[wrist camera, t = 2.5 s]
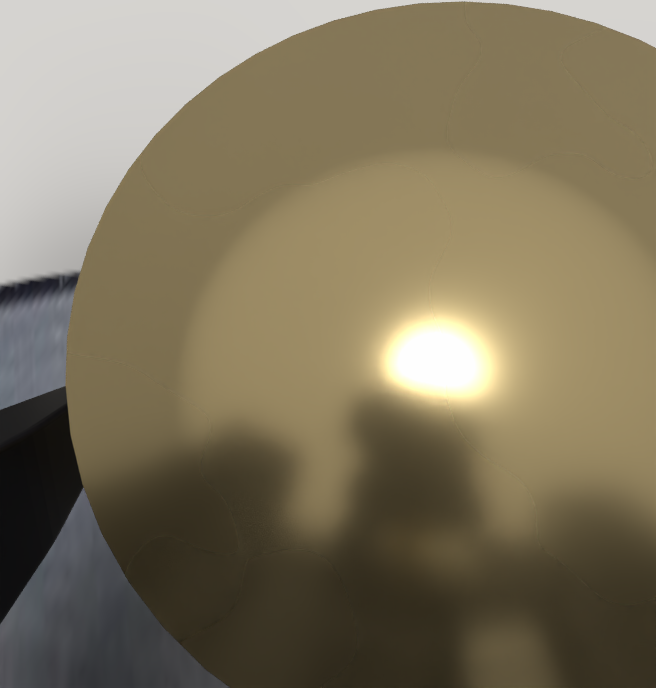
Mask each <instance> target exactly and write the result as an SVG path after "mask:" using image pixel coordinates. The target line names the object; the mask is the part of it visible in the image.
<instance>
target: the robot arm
mask: <svg viewBox="0 0 656 688" xmlns="http://www.w3.org/2000/svg"><path fill="white" fill-rule="evenodd" d="M82 489H83V484H82V480H81V476H80V472H79V467H78V463H77V459H76V455H75V451H74V447H73V442H72V438H71V434H70V424H69V414H68V404H67V394H66V386H64V387H61V388H59V389H56V390H53V391H51V392H48V393H45V394H42V395H40V396H37V397H34V398H32V399H29V400H26V401H23V402H21V403H18V404H15V405H12V406H10V407H7V408H4V409H2V410H0V624H1V622H2V621H3V619H4V618H5V616H6V615H7V613H8V612H9V610H10V609H11V607H12V606H13V604H14V603H15V601H16V600H17V598H18V597H19V595H20V594H21V592H22V591H23V589H24V588H25V586H26V585H27V583H28V582H29V580H30V579H31V577H32V576H33V574H34V573H35V571H36V570H37V568H38V567H39V565H40V564H41V562H42V561H43V559H44V557H45V556H46V554H47V553H48V551H49V550H50V548H51V546H52V545H53V543H54V542H55V540H56V538H57V536H58V534H59V533H60V531H61V529H62V527H63V525H64V524H65V522H66V520H67V518H68V516H69V514H70V512H71V510H72V508H73V506H74V504H75V502H76V501H77V499H78V497H79V495H80V493H81V491H82Z"/></svg>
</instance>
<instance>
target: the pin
mask: <svg viewBox="0 0 656 688" xmlns="http://www.w3.org/2000/svg"><path fill="white" fill-rule="evenodd" d="M66 394H67V404H68V414H69V424H70V434H71V438H72V442H73V447H74V451H75V455H76V459H77V463H78V467H79V472H80V476H81V480H82V484H83V487H84V489H85V492H86V494H87V497H88V499H89V502H90V505H91V507H92V510H93V512H94V515H95V517H96V520H97V523H98V525H99V528H100V530H101V533H102V535H103V537H104V538H105V540H106V542H107V544H108V546H109V547H110V549H111V551H112V553H113V554H114V556H115V558H116V560H117V562H118V563H119V565H120V567H121V569H122V571H123V572H124V574H125V576H126V578H127V579H128V581H129V583H130V584H131V585H132V587H133V588H134V589H135V591H136V592H137V593H138V595H139V596H140V597H141V599H142V600H143V601H144V602H145V604H146V605H147V606H148V608H149V609H150V610H151V612H152V613H153V614H154V616H155V617H156V618H157V620H158V621H159V622H160V624H161V625H162V626H163V627H164V628H165V629H166V630H167V631H168V632H169V633H170V634H171V635H172V636H173V637H174V638H175V639H176V640H177V641H178V642H179V643H180V644H181V645H182V646H183V647H184V648H185V649H186V650H187V651H188V652H189V653H190V654H191V655H192V656H193V657H194V658H195V659H196V660H197V661H198V662H199V663H200V664H201V665H202V666H203V667H204V668H205V669H206V670H207V671H209V672H210V673H211V674H213V675H214V676H215V677H217V678H218V679H219V680H221V681H222V682H223V683H225V684H226V685H227V686H229V687H230V688H656V48H655V47H653V46H651V45H649V44H647V43H645V42H643V41H641V40H639V39H636V38H633V37H631V36H628V35H626V34H623V33H620V32H618V31H615V30H613V29H610V28H607V27H605V26H602V25H599V24H597V23H594V22H590V21H586V20H582V19H579V18H575V17H571V16H568V15H564V14H560V13H556V12H553V11H547V10H540V9H534V8H528V7H522V6H516V5H509V4H496V3H479V2H478V3H477V2H442V3H420V4H412V5H406V6H399V7H392V8H385V9H378V10H373V11H369V12H365V13H362V14H358V15H354V16H350V17H346V18H342V19H338V20H334V21H331V22H328V23H326V24H323V25H320V26H318V27H315V28H313V29H309V30H307V31H305V32H302V33H299V34H296V35H293V36H291V37H289V38H287V39H285V40H283V41H281V42H279V43H277V44H275V45H273V46H272V47H269V48H267V49H265V50H263V51H261V52H259V53H257V54H255V55H254V56H252V57H251V58H249V59H247V60H246V61H244V62H242V63H241V64H239V65H238V66H236V67H235V68H233V69H231V70H230V71H228V72H227V73H225V74H224V75H222V76H220V77H219V78H218V79H217V80H215V81H214V82H213V83H211V84H210V85H209V86H208V87H206V88H205V89H204V90H203V91H202V92H200V93H199V94H198V95H197V96H195V97H194V98H193V99H192V100H191V101H189V102H188V103H187V104H186V105H185V106H184V107H183V108H182V109H181V110H180V111H179V112H178V113H177V114H176V115H175V116H174V117H173V118H172V119H171V120H170V121H169V122H168V123H167V124H166V125H165V126H164V127H163V128H162V129H161V130H160V131H159V132H158V133H157V134H156V135H155V136H154V137H153V139H152V140H151V141H150V143H149V144H148V145H147V146H146V148H145V149H144V150H143V152H142V153H141V154H140V155H139V157H138V158H137V159H136V161H135V162H134V163H133V164H132V166H131V167H130V168H129V170H128V171H127V173H126V175H125V176H124V178H123V180H122V181H121V183H120V185H119V186H118V188H117V190H116V191H115V193H114V195H113V196H112V198H111V200H110V201H109V203H108V205H107V206H106V208H105V211H104V213H103V215H102V217H101V220H100V222H99V224H98V226H97V228H96V231H95V233H94V235H93V238H92V240H91V242H90V244H89V246H88V249H87V252H86V256H85V259H84V262H83V266H82V269H81V272H80V276H79V279H78V282H77V286H76V289H75V293H74V299H73V305H72V311H71V317H70V323H69V329H68V335H67V358H66Z"/></svg>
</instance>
